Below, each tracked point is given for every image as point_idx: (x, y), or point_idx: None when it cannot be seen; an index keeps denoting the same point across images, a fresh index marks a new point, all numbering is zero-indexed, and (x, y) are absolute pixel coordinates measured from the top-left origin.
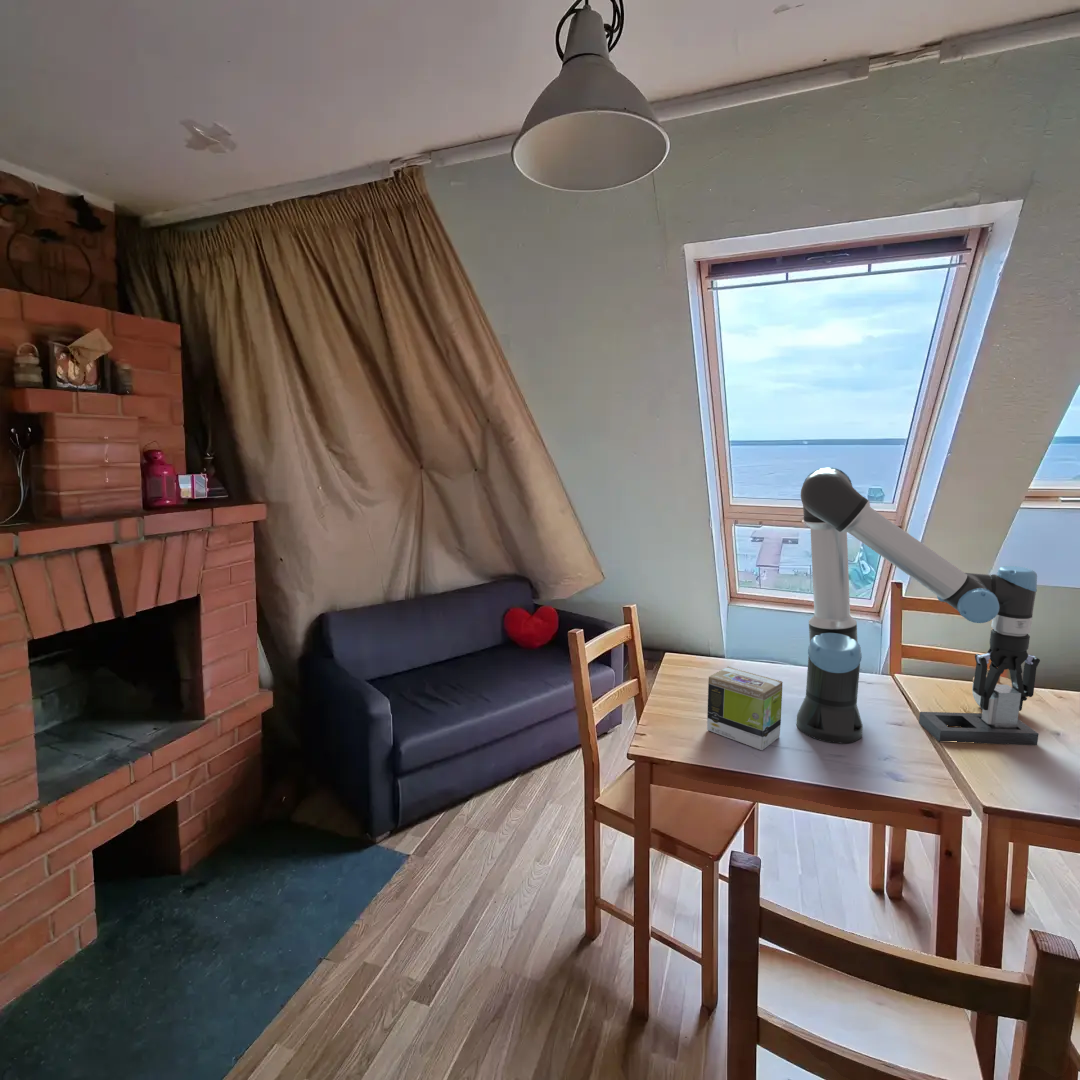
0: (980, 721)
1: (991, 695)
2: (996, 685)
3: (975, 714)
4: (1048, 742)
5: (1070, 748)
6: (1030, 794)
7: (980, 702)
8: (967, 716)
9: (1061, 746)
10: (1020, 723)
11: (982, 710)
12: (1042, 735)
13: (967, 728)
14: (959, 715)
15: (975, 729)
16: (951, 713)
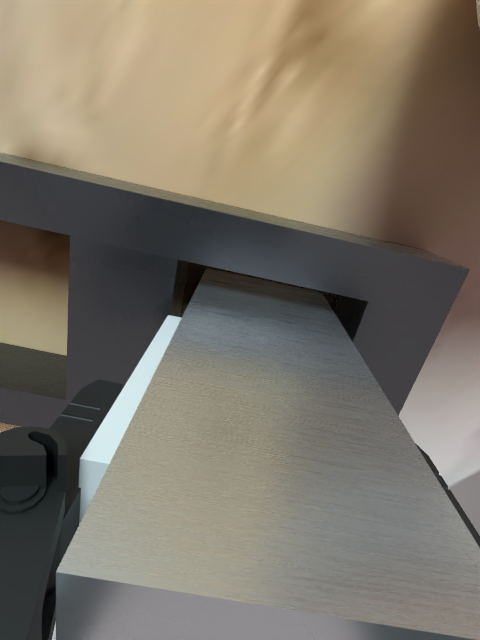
0: (147, 330)
1: (55, 610)
2: (249, 637)
3: (189, 230)
4: (424, 429)
5: (459, 478)
6: (54, 626)
7: (62, 415)
8: (104, 252)
9: (441, 461)
10: (383, 390)
11: (149, 345)
12: (473, 374)
13: (5, 393)
14: (53, 226)
15: (47, 408)
16: (9, 180)
